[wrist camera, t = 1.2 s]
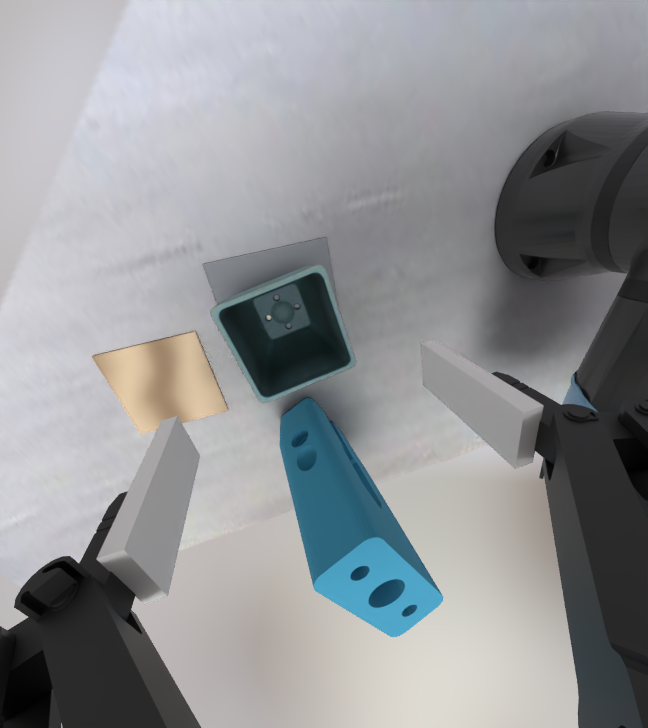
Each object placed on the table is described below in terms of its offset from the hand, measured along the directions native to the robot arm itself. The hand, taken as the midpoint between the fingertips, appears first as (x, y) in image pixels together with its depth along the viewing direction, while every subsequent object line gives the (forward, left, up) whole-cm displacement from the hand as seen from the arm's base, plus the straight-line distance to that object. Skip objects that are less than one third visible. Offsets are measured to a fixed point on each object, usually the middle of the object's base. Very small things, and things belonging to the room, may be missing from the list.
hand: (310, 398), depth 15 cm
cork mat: (+14, +5, -17) cm, 23 cm away
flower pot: (0, 0, -17) cm, 17 cm away
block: (0, +16, -17) cm, 23 cm away
